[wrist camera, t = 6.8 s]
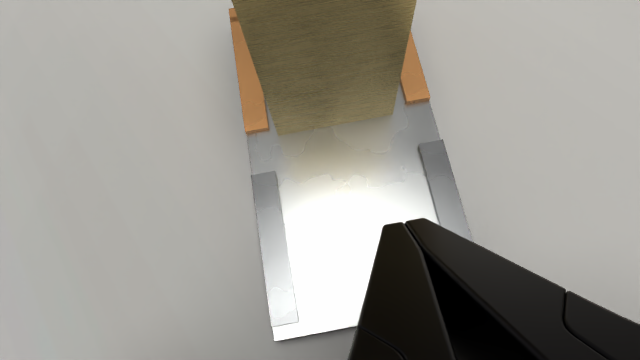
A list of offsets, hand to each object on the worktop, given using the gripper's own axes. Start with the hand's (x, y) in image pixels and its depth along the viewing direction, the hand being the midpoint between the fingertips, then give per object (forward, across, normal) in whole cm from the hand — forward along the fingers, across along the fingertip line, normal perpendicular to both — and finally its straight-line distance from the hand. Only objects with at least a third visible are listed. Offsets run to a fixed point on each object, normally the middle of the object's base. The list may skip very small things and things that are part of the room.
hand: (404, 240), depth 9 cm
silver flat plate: (+11, 0, +2) cm, 11 cm away
